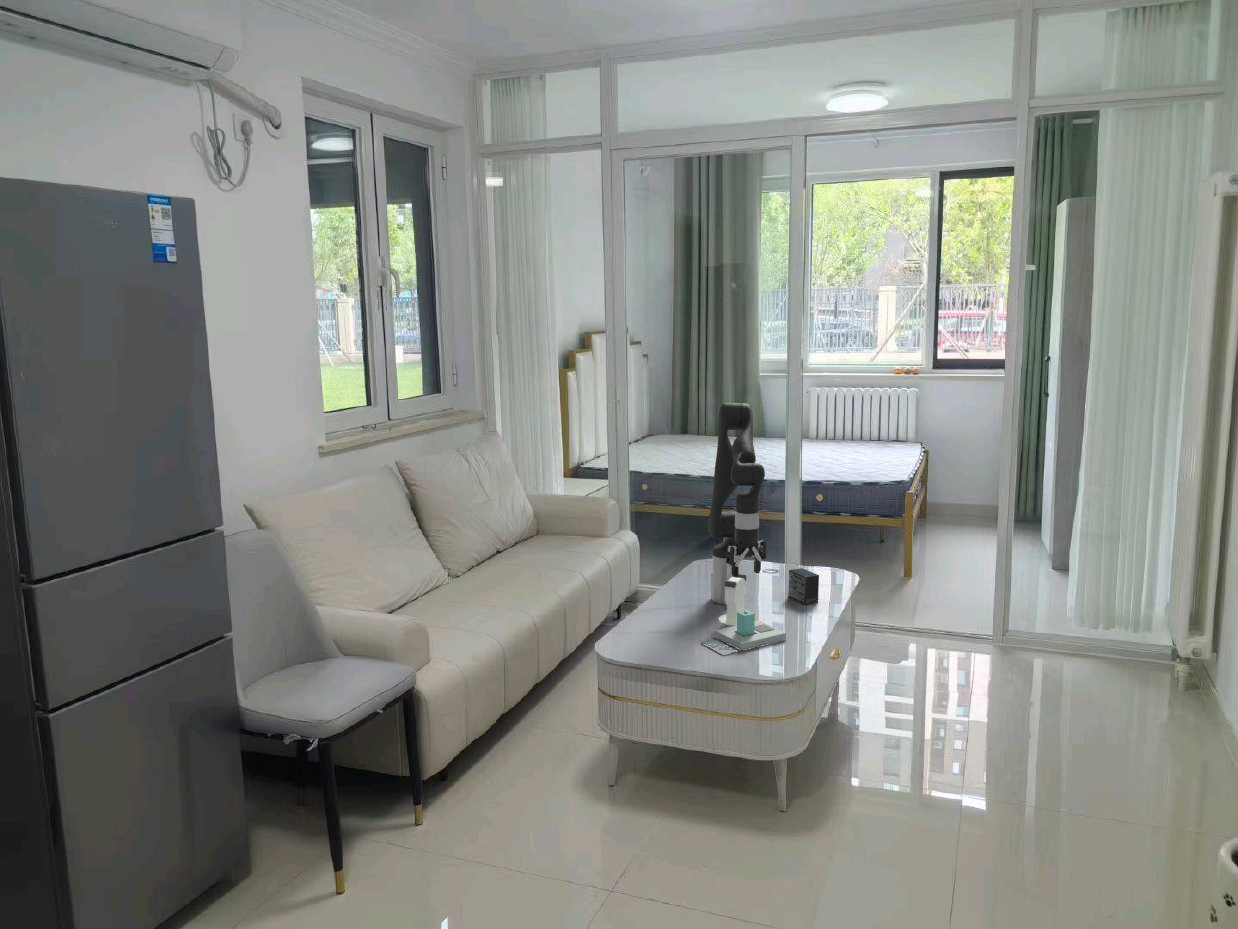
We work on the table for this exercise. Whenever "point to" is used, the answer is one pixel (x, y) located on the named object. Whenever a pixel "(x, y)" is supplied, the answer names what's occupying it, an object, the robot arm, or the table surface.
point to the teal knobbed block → (745, 623)
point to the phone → (717, 644)
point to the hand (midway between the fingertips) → (746, 575)
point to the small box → (803, 586)
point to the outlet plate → (751, 636)
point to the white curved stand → (734, 599)
